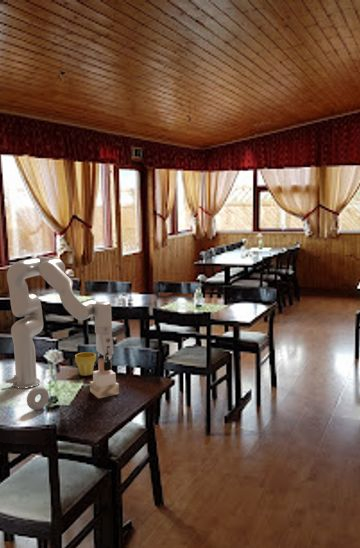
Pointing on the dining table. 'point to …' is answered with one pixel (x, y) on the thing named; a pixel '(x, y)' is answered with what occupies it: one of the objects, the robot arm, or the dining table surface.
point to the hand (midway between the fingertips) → (104, 367)
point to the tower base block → (104, 390)
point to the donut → (32, 396)
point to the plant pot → (85, 362)
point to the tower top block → (104, 378)
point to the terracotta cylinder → (101, 364)
